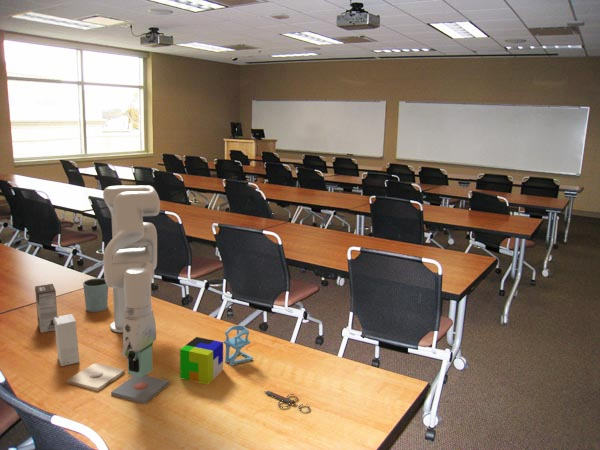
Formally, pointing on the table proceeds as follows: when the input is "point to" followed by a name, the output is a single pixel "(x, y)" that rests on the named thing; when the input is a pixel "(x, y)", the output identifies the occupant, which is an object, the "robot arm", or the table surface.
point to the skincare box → (66, 339)
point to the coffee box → (46, 307)
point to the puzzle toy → (201, 360)
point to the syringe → (282, 398)
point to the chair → (237, 344)
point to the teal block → (143, 362)
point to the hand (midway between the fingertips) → (140, 366)
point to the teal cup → (95, 294)
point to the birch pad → (95, 376)
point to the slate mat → (140, 388)
